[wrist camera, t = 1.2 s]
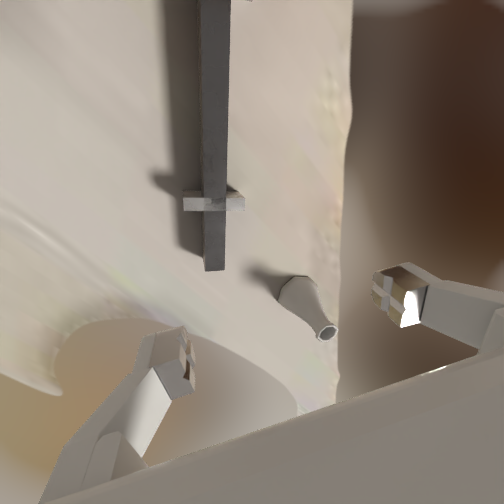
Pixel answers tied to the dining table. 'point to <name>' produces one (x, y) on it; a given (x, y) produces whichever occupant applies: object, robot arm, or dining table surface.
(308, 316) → the flask
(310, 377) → the dining table surface
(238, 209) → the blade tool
